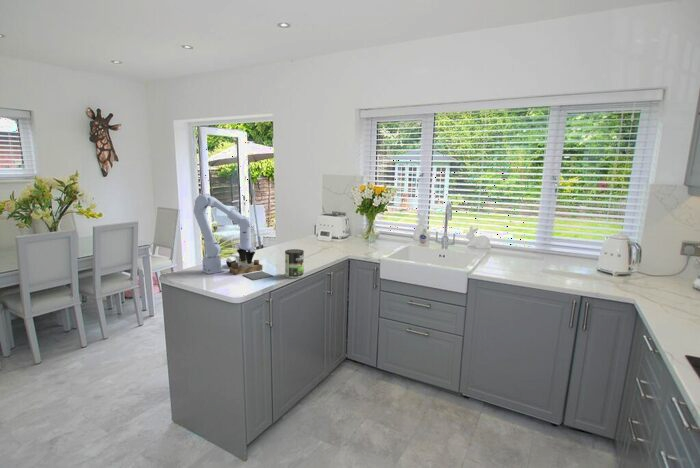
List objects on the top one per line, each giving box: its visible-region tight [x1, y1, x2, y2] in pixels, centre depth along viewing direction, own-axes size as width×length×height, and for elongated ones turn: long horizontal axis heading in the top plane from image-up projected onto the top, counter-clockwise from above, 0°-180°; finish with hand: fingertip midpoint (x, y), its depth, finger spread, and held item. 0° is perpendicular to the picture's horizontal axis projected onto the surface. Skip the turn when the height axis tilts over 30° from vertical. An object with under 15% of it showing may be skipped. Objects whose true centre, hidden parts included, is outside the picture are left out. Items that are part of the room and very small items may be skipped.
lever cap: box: [239, 260, 254, 268], centre depth 213 cm, size 7×4×3 cm, turn 134°
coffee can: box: [284, 248, 305, 279], centre depth 206 cm, size 10×10×14 cm
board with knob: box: [228, 259, 263, 276], centre depth 213 cm, size 17×7×6 cm, turn 134°
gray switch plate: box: [242, 270, 274, 281], centre depth 205 cm, size 12×12×1 cm
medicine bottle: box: [225, 252, 247, 268], centre depth 224 cm, size 7×7×12 cm
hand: (246, 262), depth 213 cm, fingers open, 7 cm apart
